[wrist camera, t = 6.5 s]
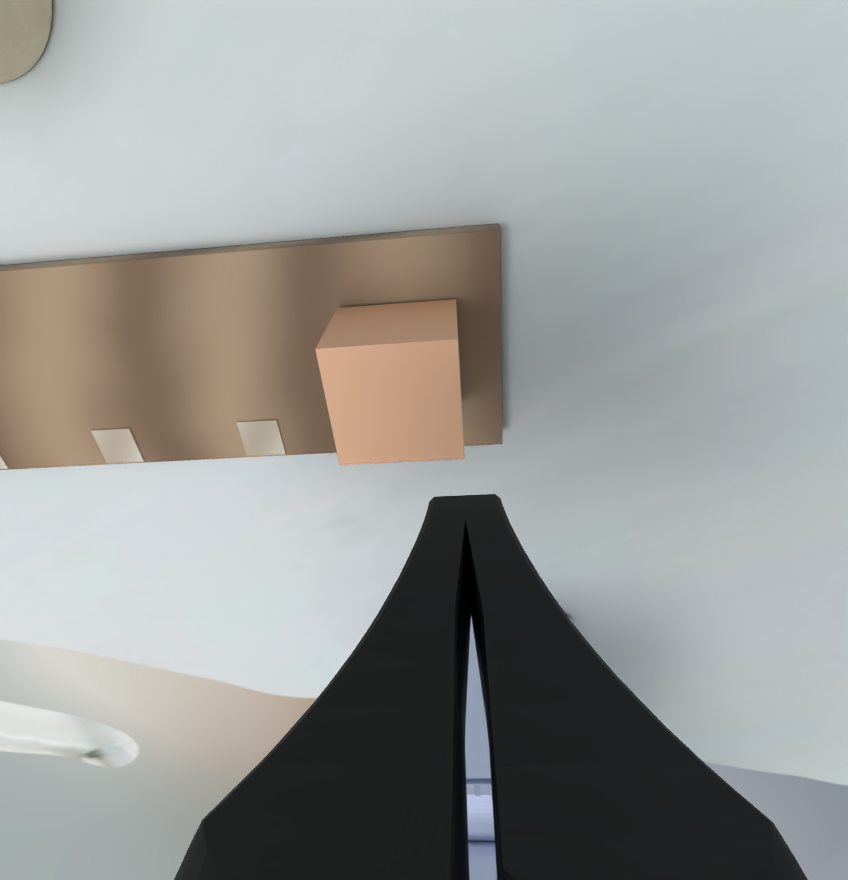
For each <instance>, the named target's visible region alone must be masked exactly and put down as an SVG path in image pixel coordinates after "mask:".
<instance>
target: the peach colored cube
mask: <svg viewBox="0 0 848 880" xmlns="http://www.w3.org/2000/svg"><path fill="white" fill-rule="evenodd" d="M315 350H316V355H317V360H318V364H319V369H320V374H321V379H322V383H323V388H324V393H325V398H326V403H327V407H328V412H329V417H330V422H331V426H332V431H333V436H334V441H335V445H336V450H337V455H338V460H339V464H340V465H350V464H371V463H391V462H411V461H431V460H451V459H464V440H463V417H462V397H461V379H460V361H459V343H458V325H457V307H456V299H452V300H439V301H425V302H411V303H398V304H384V305H371V306H357V307H343V308H337V309H336V311H335V313H334V315H333V317H332V319H331V320H330V322H329V324H328V326H327V328H326V330H325V332H324V333H323V335H322V337H321V339H320V341H319V343H318V345H317V346H316V348H315Z"/></svg>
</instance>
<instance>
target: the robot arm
mask: <svg viewBox="0 0 848 880" xmlns="http://www.w3.org/2000/svg"><path fill="white" fill-rule="evenodd" d="M174 880H807V878H806V876H805V874H804V873H803V871H802V869H801V868H800V866H799V864H798V862H797V861H796V859H795V857H794V855H793V854H792V852H791V851H790V849H789V847H788V846H787V844H786V842H785V841H784V839H783V838H782V836H781V834H780V833H779V831H778V830H777V828H776V827H775V825H774V823H773V822H772V821H771V820H769V819H768V818H767V817H766V816H765V815H764V814H762V813H761V812H760V811H759V810H758V809H757V808H755V807H754V806H753V805H752V804H751V803H749V802H748V801H747V800H746V799H745V798H744V797H742V796H741V795H740V794H739V793H738V792H737V791H735V790H734V789H733V788H732V787H731V786H730V785H728V784H727V783H726V782H725V781H724V780H723V779H722V778H721V777H720V776H718V775H717V774H716V773H715V772H714V771H713V770H712V769H711V768H709V767H708V766H707V765H706V764H705V763H704V762H703V761H702V760H701V759H699V758H698V757H697V756H696V755H695V754H694V753H693V752H692V751H691V750H690V749H689V748H688V747H687V746H686V745H685V744H684V743H682V742H681V741H680V740H679V739H678V738H677V737H676V736H675V735H674V734H673V733H672V732H671V731H670V730H669V729H668V728H667V727H666V726H665V725H664V724H663V723H662V722H661V721H660V720H659V719H658V718H657V717H656V716H655V715H654V714H653V713H652V712H651V711H650V710H649V709H648V708H647V707H646V706H645V705H644V704H643V703H642V702H641V701H640V700H639V699H638V698H637V697H636V696H635V694H634V693H633V692H632V691H631V690H630V689H629V688H628V687H627V686H626V685H625V684H624V683H623V682H622V681H621V680H620V679H619V678H618V677H617V676H616V675H615V673H614V672H613V671H612V670H611V669H610V668H609V667H608V665H607V664H606V663H605V662H604V661H603V660H602V658H601V657H600V656H599V655H598V654H597V653H596V652H595V650H594V649H593V648H592V647H591V645H590V644H589V643H588V642H587V641H586V639H585V638H584V637H583V636H582V634H581V633H580V632H579V631H578V629H577V628H576V627H575V626H574V624H573V621H572V619H570V618H568V616H567V615H566V614H565V612H564V611H563V610H562V608H561V607H560V605H559V604H558V602H557V601H556V600H555V598H554V597H553V595H552V594H551V592H550V591H549V590H548V588H547V587H546V585H545V584H544V582H543V580H542V579H541V577H540V576H539V574H538V573H537V571H536V569H535V568H534V566H533V564H532V563H531V561H530V559H529V558H528V556H527V554H526V553H525V551H524V549H523V547H522V546H521V544H520V542H519V540H518V538H517V536H516V534H515V532H514V530H513V528H512V526H511V524H510V522H509V520H508V518H507V515H506V513H505V510H504V508H503V505H502V502H501V499H500V498H499V497H498V496H497V495H495V494H488V495H465V496H443V497H434V498H433V499H432V500H431V501H430V502H429V506H428V510H427V513H426V516H425V519H424V522H423V525H422V528H421V530H420V533H419V535H418V537H417V540H416V542H415V545H414V547H413V549H412V551H411V553H410V555H409V557H408V559H407V561H406V564H405V566H404V568H403V570H402V572H401V574H400V576H399V578H398V580H397V581H396V583H395V585H394V587H393V588H392V590H391V592H390V594H389V596H388V597H387V599H386V601H385V603H384V604H383V606H382V608H381V610H380V611H379V613H378V615H377V616H376V618H375V619H374V621H373V623H372V624H371V626H370V627H369V629H368V630H367V632H366V633H365V635H364V636H363V638H362V639H361V641H360V642H359V644H358V645H357V647H356V648H355V650H354V651H353V652H352V654H351V655H350V657H349V658H348V659H347V661H346V662H345V663H344V665H343V666H342V667H341V669H340V670H339V671H338V673H337V674H336V675H335V676H334V678H333V679H332V680H331V682H330V683H329V684H328V686H327V687H326V688H325V689H324V691H323V692H322V693H321V694H320V696H319V697H318V698H317V699H316V701H315V702H314V703H313V704H312V705H311V706H310V708H309V709H308V710H307V711H306V712H305V713H304V714H303V716H302V717H301V718H300V719H299V720H298V721H297V722H296V724H295V725H294V726H293V727H292V728H291V729H290V730H289V731H288V733H287V734H286V735H285V736H284V737H283V738H282V739H281V741H280V742H279V743H278V744H277V745H276V746H275V747H274V748H273V750H272V751H271V752H270V753H269V754H268V755H267V756H266V757H265V758H264V759H263V760H262V761H261V762H260V763H259V764H258V765H257V766H256V767H255V768H254V769H253V770H252V771H251V772H250V773H249V774H248V775H247V776H246V777H245V778H244V779H243V780H242V781H241V782H240V783H239V784H238V785H237V786H236V787H235V788H234V789H233V790H232V791H231V792H230V793H229V794H228V795H227V796H226V797H225V798H224V799H223V800H222V801H221V802H220V803H219V804H218V805H217V806H216V807H215V808H214V809H213V810H212V811H211V812H210V813H209V814H208V815H207V816H206V817H205V818H204V819H203V820H202V822H201V824H200V826H199V828H198V830H197V832H196V834H195V836H194V838H193V840H192V842H191V844H190V846H189V848H188V850H187V853H186V855H185V857H184V860H183V862H182V864H181V866H180V868H179V870H178V872H177V874H176V877H175V879H174Z"/></svg>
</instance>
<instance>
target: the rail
mask: <svg viewBox="0 0 848 880" xmlns="http://www.w3.org/2000/svg"><path fill="white" fill-rule="evenodd" d="M452 299H456V307H457V325H458V343H459V361H460V379H461V397H462V417H463V440H464V446H472V445H492V444H502V346H501V242H500V228H499V225H498V224H488V225H476V226H464V227H452V228H441V229H429V230H417V231H405V232H393V233H381V234H369V235H357V236H346V237H334V238H322V239H310V240H298V241H286V242H274V243H262V244H251V245H239V246H227V247H215V248H203V249H191V250H179V251H167V252H156V253H144V254H132V255H120V256H108V257H96V258H84V259H72V260H61V261H49V262H37V263H25V264H13V265H1V266H0V470H7V469H26V468H46V467H65V466H84V465H104V464H123V463H143V462H162V461H181V460H201V459H220V458H240V457H259V456H278V455H298V454H317V453H337V450H336V445H335V441H334V436H333V431H332V426H331V422H330V417H329V412H328V407H327V403H326V398H325V393H324V388H323V383H322V379H321V374H320V369H319V364H318V360H317V355H316V350H315V348H316V346H317V345H318V343H319V341H320V339H321V337H322V335H323V333H324V332H325V330H326V328H327V326H328V324H329V322H330V320H331V319H332V317H333V315H334V313H335V311H336V309H337V308H343V307H357V306H371V305H384V304H398V303H411V302H425V301H439V300H452Z"/></svg>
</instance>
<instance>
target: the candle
mask: <svg viewBox="0 0 848 880" xmlns="http://www.w3.org/2000/svg"><path fill="white" fill-rule="evenodd" d="M51 20H52V0H0V83H4V82H7V81H11V80H14V79H16V78H18V77H20V76H22V75H23V74H25V73H26V72H27V71H29V70H30V69H31V68H32V67H33V66H34V65H35V64H36V62H37V61H38V60H39V58H40V56H41V55H42V53H43V51H44V49H45V46H46V44H47V41H48V38H49V33H50V29H51Z"/></svg>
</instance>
